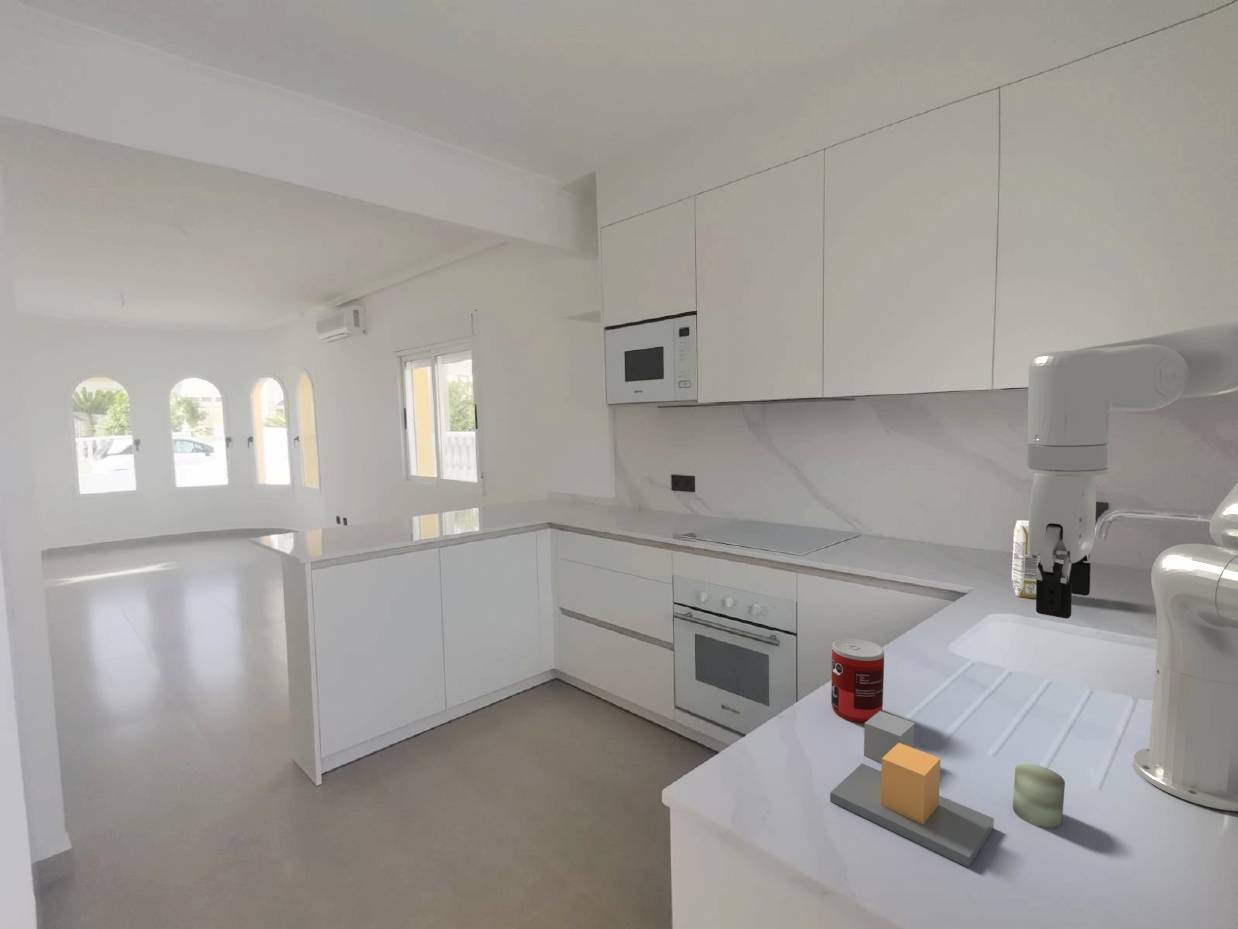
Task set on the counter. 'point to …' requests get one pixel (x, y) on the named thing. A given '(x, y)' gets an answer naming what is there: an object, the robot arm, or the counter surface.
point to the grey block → (886, 734)
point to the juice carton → (1023, 563)
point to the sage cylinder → (1038, 795)
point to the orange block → (910, 782)
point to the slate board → (942, 832)
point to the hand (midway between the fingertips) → (1063, 603)
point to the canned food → (857, 679)
